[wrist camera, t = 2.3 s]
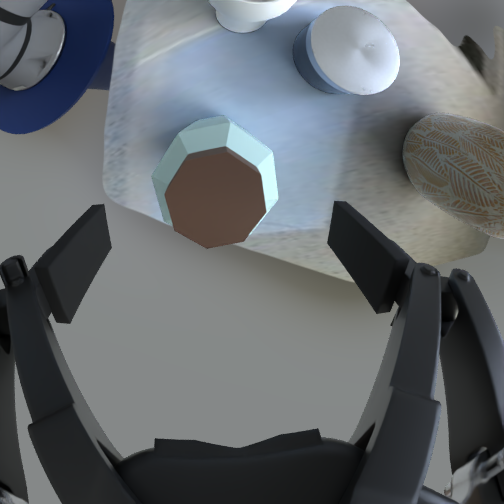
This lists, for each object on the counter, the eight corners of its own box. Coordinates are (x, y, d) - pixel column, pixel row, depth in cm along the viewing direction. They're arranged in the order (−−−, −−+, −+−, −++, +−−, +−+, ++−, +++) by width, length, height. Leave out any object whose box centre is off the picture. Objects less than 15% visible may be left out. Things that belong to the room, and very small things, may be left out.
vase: (448, 195, 48) (540, 259, 24) (388, 192, 46) (494, 273, 23) (458, 118, 39) (566, 156, 16) (397, 101, 37) (529, 129, 14)
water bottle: (206, 191, 42) (199, 291, 21) (168, 139, 37) (109, 187, 16) (261, 156, 40) (317, 222, 19) (226, 101, 36) (242, 92, 14)
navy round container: (292, 14, 29) (311, -5, 21) (368, 32, 31) (399, 23, 23) (289, 88, 36) (308, 85, 28) (365, 101, 37) (397, 104, 30)
